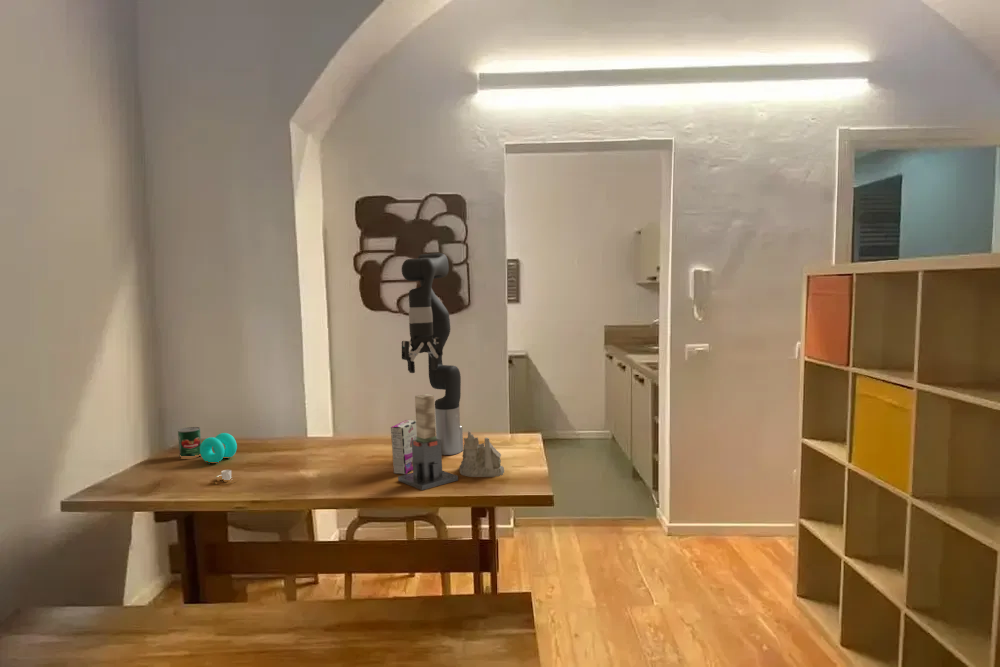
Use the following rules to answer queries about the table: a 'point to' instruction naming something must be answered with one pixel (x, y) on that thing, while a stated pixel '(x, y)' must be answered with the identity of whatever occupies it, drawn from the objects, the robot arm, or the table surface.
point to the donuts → (218, 447)
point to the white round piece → (225, 474)
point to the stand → (427, 466)
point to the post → (425, 418)
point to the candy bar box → (403, 446)
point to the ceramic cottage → (480, 459)
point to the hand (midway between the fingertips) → (423, 371)
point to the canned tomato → (189, 441)
